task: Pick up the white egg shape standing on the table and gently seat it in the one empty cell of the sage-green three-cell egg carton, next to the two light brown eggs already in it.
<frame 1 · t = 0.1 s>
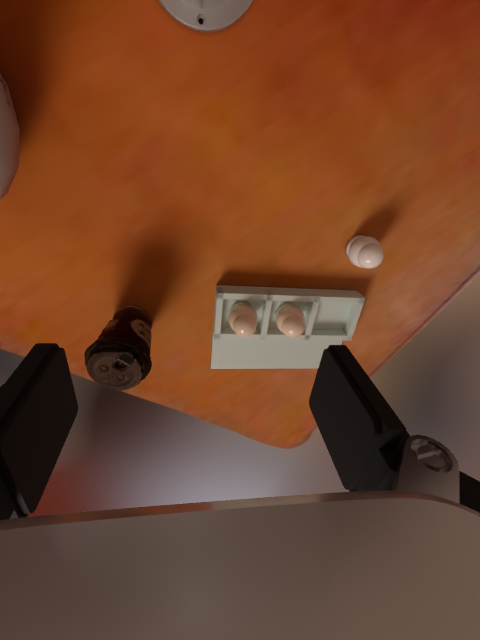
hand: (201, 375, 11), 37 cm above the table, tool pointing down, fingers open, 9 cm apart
brown egg end: (241, 311, 51), point 1 cm above the table, touching egg carton
coffee cup: (133, 320, 51), on the table
white egg shape: (357, 246, 49), on the table
egg carton: (285, 310, 53), on the table
brown egg middle: (286, 312, 53), point 1 cm above the table, touching egg carton
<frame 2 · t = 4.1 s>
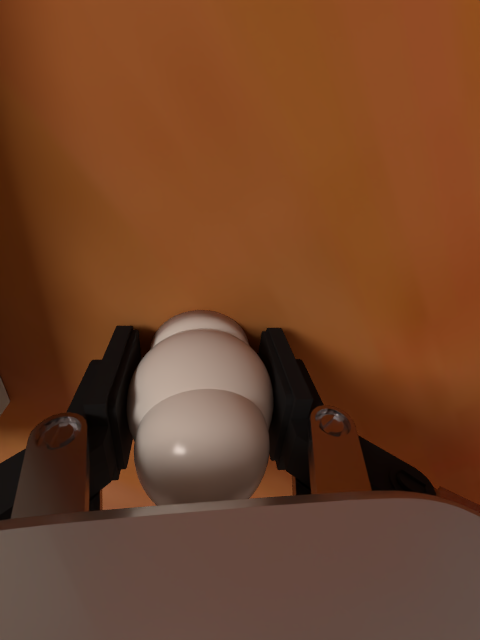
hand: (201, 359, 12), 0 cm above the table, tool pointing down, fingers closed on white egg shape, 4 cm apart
white egg shape: (200, 352, 12), on the table, touching gripper
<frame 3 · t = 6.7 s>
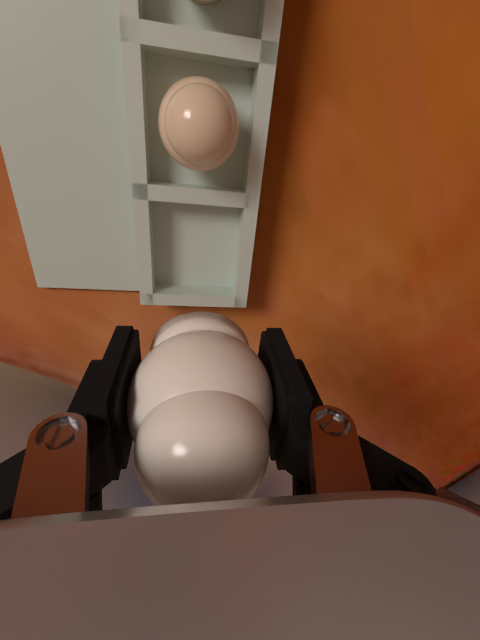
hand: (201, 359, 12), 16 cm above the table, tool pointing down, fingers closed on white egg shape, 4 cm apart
white egg shape: (200, 353, 12), point 15 cm above the table, touching gripper
egg carton: (199, 128, 21), on the table
brown egg middle: (199, 128, 20), point 1 cm above the table, touching egg carton
when the fingers open (4 cm above the table, at t = 9.3 s): white egg shape drops 2 cm, resting on egg carton.
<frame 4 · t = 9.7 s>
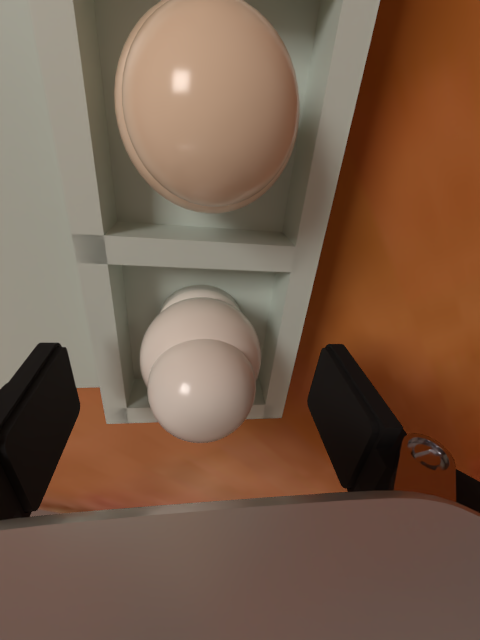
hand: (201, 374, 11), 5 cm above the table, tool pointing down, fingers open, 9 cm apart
white egg shape: (200, 322, 14), point 1 cm above the table, touching egg carton
egg carton: (205, 125, 11), on the table
brown egg middle: (206, 124, 10), point 1 cm above the table, touching egg carton
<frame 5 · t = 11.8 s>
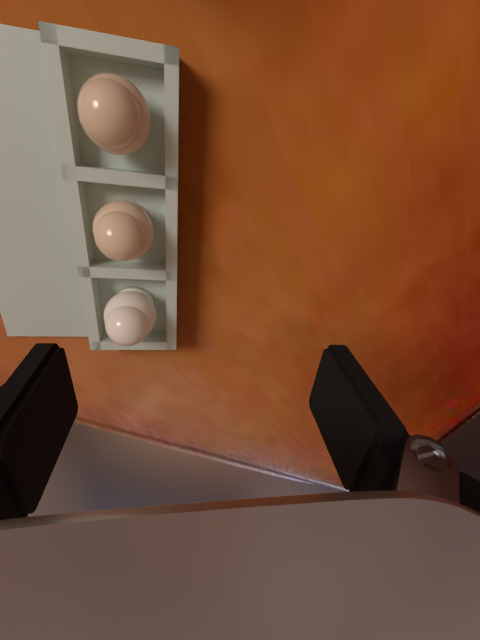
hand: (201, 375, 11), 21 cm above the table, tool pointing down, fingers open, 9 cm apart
brown egg end: (122, 119, 23), point 1 cm above the table, touching egg carton
white egg shape: (134, 303, 31), point 1 cm above the table, touching egg carton
egg carton: (130, 221, 28), on the table
brown egg middle: (129, 224, 27), point 1 cm above the table, touching egg carton
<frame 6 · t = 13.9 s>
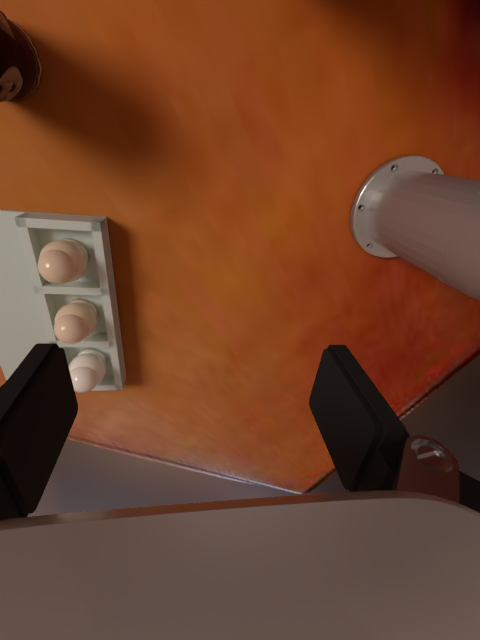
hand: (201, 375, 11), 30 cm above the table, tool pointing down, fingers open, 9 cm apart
brown egg end: (72, 254, 37), point 1 cm above the table, touching egg carton
coffee cup: (6, 62, 28), on the table
white egg shape: (92, 358, 45), point 1 cm above the table, touching egg carton
egg carton: (85, 307, 42), on the table
brown egg middle: (82, 311, 41), point 1 cm above the table, touching egg carton
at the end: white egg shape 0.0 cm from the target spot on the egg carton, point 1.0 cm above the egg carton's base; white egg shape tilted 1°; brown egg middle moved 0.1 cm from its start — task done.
